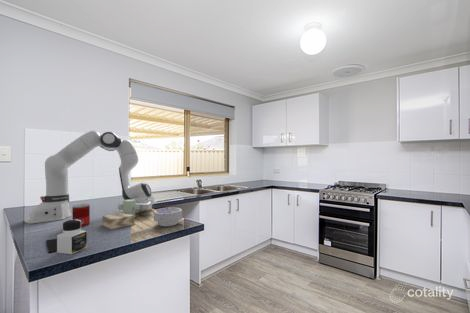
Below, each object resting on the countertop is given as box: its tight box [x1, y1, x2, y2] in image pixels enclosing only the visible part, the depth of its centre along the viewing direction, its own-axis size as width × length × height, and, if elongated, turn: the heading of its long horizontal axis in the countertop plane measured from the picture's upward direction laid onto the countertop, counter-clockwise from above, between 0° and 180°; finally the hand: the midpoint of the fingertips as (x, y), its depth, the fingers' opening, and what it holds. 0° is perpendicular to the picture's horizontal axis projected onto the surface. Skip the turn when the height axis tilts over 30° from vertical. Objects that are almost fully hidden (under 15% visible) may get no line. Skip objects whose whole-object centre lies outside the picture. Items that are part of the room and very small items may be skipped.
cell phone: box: [45, 237, 57, 254], centre depth 102 cm, size 9×18×1 cm, turn 41°
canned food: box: [71, 203, 91, 228], centre depth 131 cm, size 8×8×11 cm
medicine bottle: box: [56, 219, 88, 255], centre depth 95 cm, size 7×7×12 cm
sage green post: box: [122, 200, 136, 219], centre depth 145 cm, size 5×5×11 cm
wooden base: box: [102, 211, 135, 230], centre depth 131 cm, size 12×12×5 cm
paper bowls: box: [153, 206, 183, 227], centre depth 132 cm, size 15×15×8 cm
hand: (128, 208), depth 144 cm, fingers closed on sage green post, 5 cm apart
